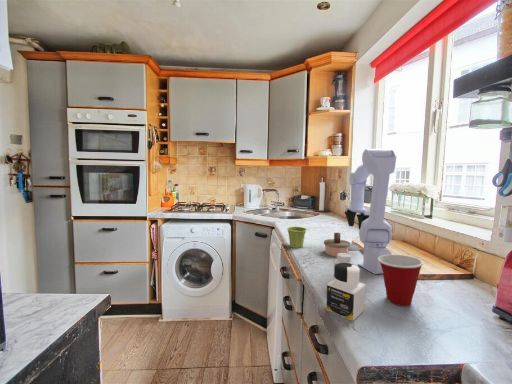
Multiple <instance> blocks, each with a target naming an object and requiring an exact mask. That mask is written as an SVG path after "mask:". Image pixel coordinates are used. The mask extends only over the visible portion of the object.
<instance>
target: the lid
mask: <svg viewBox="0 0 512 384" xmlns="http://www.w3.org/2000/svg"><path fill="white" fill-rule="evenodd" d="M323 244H324V246H325V245H326V246H329V247H334V248H348V247H350V246H351V244H352V243H351V242H350V241H348V240H345V239H341V232H334V233H333V238H328V239H325V240H324V241H323Z"/></svg>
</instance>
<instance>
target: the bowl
mask: <svg viewBox="0 0 512 384" xmlns="http://www.w3.org/2000/svg"><path fill="white" fill-rule="evenodd" d="M324 247H325V248H324V249H325V251H324V252H325V253H326V255H329V256H330V257H335V258H337V254H338V253H347V254H349V251H348V248H334V247H329V246H326V245H325V244H324Z"/></svg>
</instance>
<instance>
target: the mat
mask: <svg viewBox="0 0 512 384" xmlns="http://www.w3.org/2000/svg"><path fill="white" fill-rule="evenodd" d="M358 246H359V245H356V244H354V243H353V244H352V243H351V246H350V247H348V252H357V251H361V250H362V247H361V248H359V247H360V246H359V247H358Z"/></svg>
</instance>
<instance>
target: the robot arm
mask: <svg viewBox="0 0 512 384" xmlns="http://www.w3.org/2000/svg"><path fill="white" fill-rule="evenodd" d="M361 162H362V164H360V165H359V166H357V168H356V170H355V171H354V172H350V174H349V177H348V178H349V179H348V180H349V185H350V204H349V205H348V206H345V211H344V215H345V217H346V219H347V224H348V227H354V226H355V219H356V217H357V221H358V230H359V231H358V233H359V234H358V236H359V237H358V238H359V241H360V242H361V243H362V244H363V262H360V263H359V262H358V263H357V265H358V266H360V267H361V268H363V269H365V270H366V271H369V272H370V273H372V274H374V275H380V274H383V270H382V267H381V264H380V262H379V261H378V257H380V256H383V255H393V254H392V252H391V251H390V249H388V248H387V247H388V245H389V244H390V243H391V241H392V238H393V237H392V226H391V224H390V223H389V222H388V221H386V220H385V212H386V205H387V196H388V190H389V182H390V177H391V176H390V175H392V174H393V173H395V169H396V162H397V154H396V151H395V149H393V148H372V149H371V148H370V149H369V148H365V149H364V150H363V152H362V157H361ZM371 175H372V176H373V179H372V189H371V196H370V197H371V198H370V206H369V210H367V209H366V208H365V207H364V206H365V204H364V203H365V190H366V185H367V181H368V178H369V177H370V176H371Z"/></svg>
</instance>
